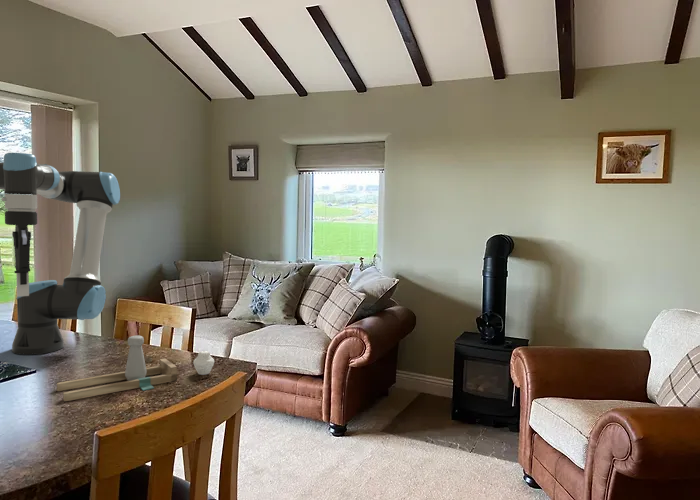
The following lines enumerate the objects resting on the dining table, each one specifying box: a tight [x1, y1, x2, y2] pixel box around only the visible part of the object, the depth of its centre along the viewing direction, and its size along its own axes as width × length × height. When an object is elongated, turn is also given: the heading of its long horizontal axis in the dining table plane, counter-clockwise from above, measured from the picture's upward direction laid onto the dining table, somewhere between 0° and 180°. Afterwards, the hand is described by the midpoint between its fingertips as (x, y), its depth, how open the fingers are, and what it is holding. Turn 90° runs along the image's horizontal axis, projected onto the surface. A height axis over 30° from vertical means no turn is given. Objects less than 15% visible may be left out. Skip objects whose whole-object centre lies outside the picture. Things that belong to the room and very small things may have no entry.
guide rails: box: [56, 358, 178, 402], centre depth 145 cm, size 16×29×4 cm, turn 129°
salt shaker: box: [124, 335, 147, 381], centre depth 148 cm, size 6×6×13 cm
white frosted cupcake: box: [192, 350, 215, 376], centre depth 157 cm, size 6×6×7 cm
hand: (23, 295), depth 143 cm, fingers closed
